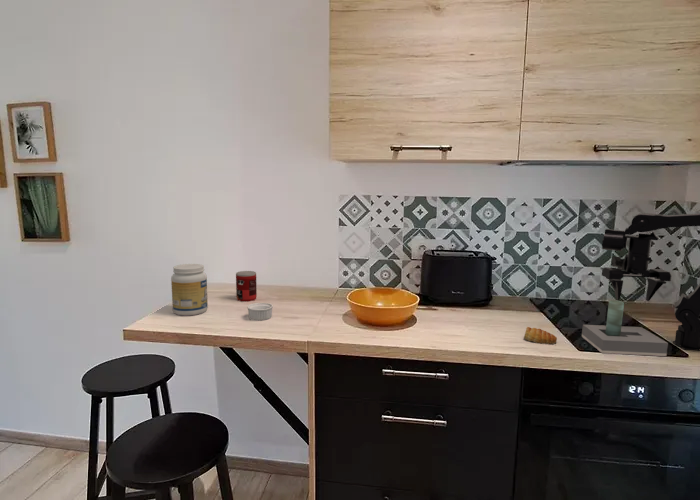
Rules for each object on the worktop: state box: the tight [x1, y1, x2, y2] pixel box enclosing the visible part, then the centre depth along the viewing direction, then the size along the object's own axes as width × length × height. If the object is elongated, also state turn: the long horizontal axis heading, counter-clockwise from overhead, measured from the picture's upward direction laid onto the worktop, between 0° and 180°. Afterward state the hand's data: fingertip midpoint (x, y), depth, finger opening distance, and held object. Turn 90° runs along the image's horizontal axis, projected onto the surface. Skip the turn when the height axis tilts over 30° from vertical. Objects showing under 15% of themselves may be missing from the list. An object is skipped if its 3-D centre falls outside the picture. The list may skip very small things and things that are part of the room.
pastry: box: [523, 326, 558, 345], centre depth 141 cm, size 9×7×4 cm
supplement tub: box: [170, 263, 209, 317], centre depth 163 cm, size 12×12×17 cm
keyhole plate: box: [581, 324, 669, 357], centre depth 138 cm, size 18×14×4 cm
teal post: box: [605, 299, 625, 336], centre depth 137 cm, size 4×4×13 cm
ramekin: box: [246, 302, 274, 322], centre depth 159 cm, size 9×9×4 cm
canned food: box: [235, 270, 258, 303], centre depth 181 cm, size 8×8×11 cm
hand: (632, 300), depth 145 cm, fingers open, 9 cm apart
